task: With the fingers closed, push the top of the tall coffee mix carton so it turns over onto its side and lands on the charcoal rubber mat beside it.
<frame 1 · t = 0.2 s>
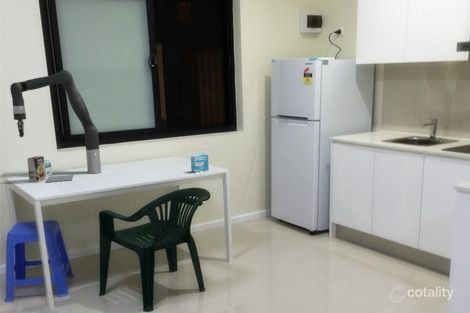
hand: (21, 136, 297), 29 cm above the table, fingers open, 8 cm apart
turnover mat: (60, 179, 296), on the table
data package: (200, 171, 313), on the table
light bulb box: (43, 175, 310), on the table
coffee box: (37, 181, 293), on the table
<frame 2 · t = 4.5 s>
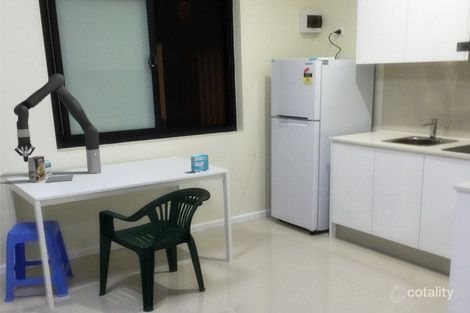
hand: (26, 161, 289), 13 cm above the table, fingers closed
nothing on the table moved.
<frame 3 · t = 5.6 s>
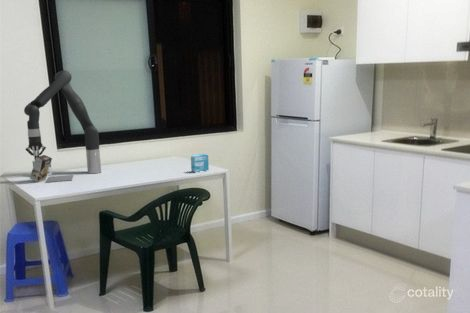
hand: (37, 161, 291), 13 cm above the table, fingers closed
coffee box: (37, 179, 292), point 1 cm above the table
everything else where it was.
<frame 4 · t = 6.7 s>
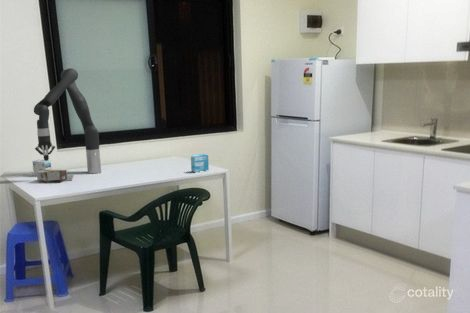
hand: (46, 160, 292), 13 cm above the table, fingers closed
coffee box: (40, 175, 291), point 4 cm above the table, touching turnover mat
everything else where it was.
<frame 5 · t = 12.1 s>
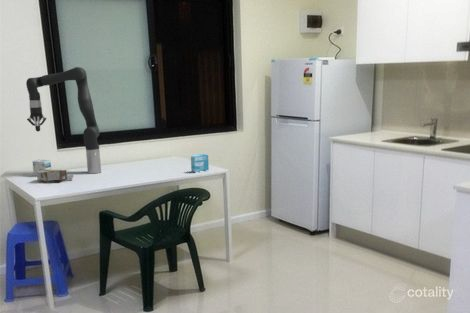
hand: (38, 131, 308), 31 cm above the table, fingers closed
nothing on the table moved.
at the end: coffee box tilted 90°; coffee box touching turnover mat; the gripper is holding nothing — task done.
